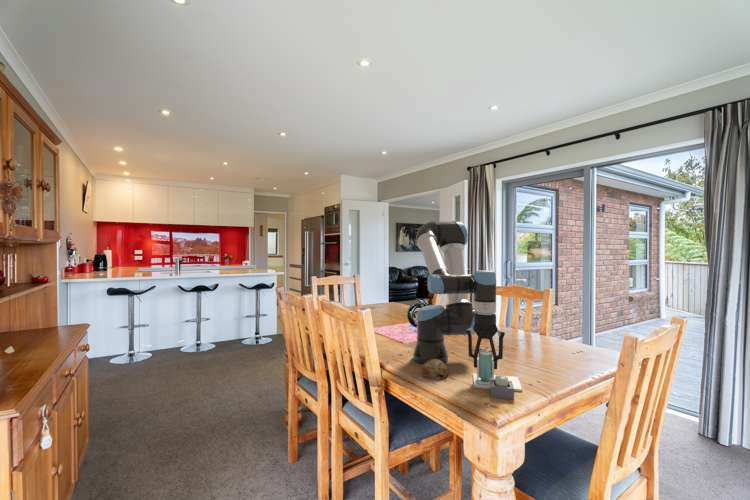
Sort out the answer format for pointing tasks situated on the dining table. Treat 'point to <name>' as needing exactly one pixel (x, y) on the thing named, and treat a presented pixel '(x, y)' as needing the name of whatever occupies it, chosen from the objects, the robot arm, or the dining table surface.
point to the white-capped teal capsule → (485, 364)
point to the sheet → (487, 384)
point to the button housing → (502, 390)
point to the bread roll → (434, 369)
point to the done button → (501, 381)
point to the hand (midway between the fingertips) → (485, 376)
